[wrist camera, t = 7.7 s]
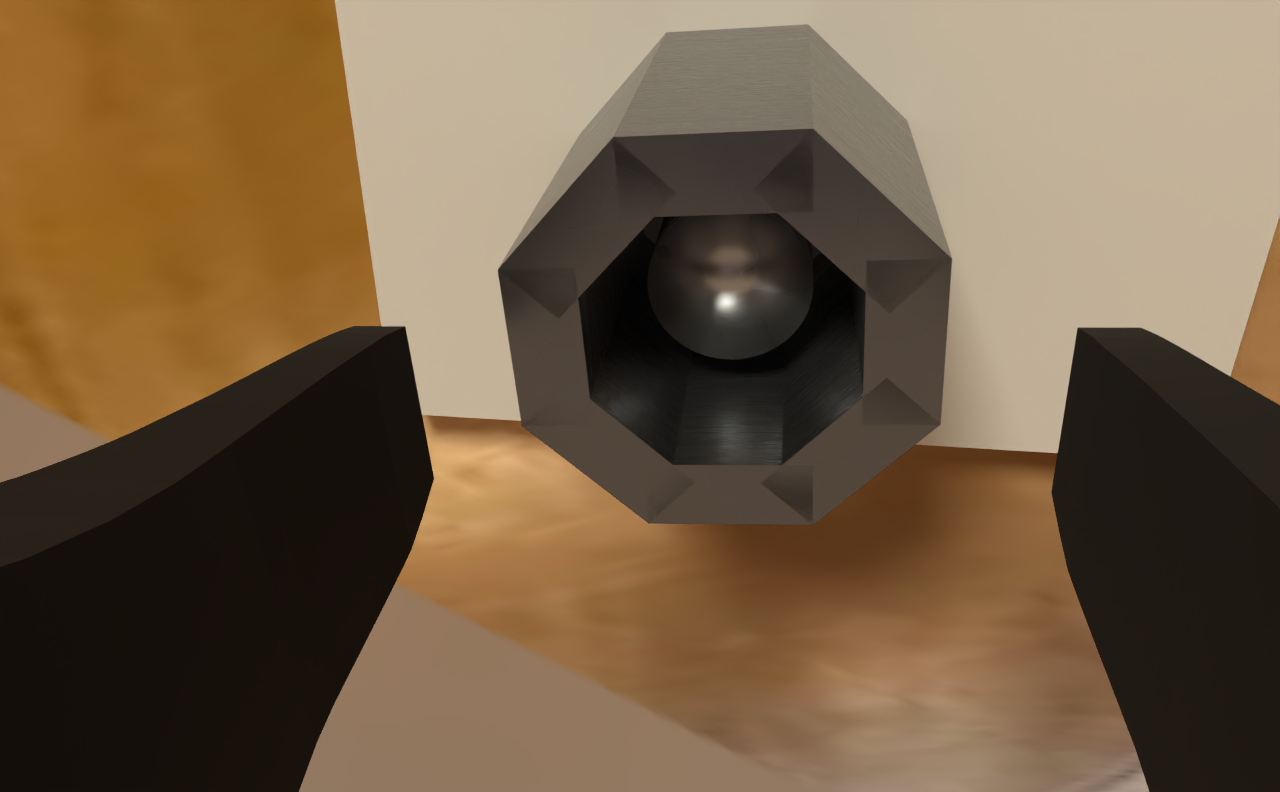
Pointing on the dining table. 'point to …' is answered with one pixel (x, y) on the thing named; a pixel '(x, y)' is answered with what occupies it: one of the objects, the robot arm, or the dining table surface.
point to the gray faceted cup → (725, 185)
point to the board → (944, 138)
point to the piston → (730, 282)
